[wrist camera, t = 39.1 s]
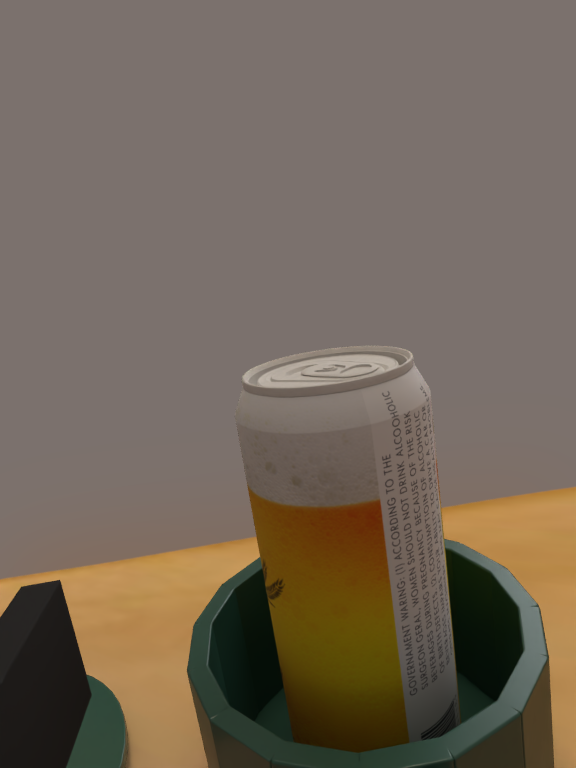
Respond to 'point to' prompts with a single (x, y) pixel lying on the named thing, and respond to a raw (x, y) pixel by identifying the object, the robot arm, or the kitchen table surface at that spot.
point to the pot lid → (101, 732)
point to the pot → (396, 763)
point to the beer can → (352, 544)
